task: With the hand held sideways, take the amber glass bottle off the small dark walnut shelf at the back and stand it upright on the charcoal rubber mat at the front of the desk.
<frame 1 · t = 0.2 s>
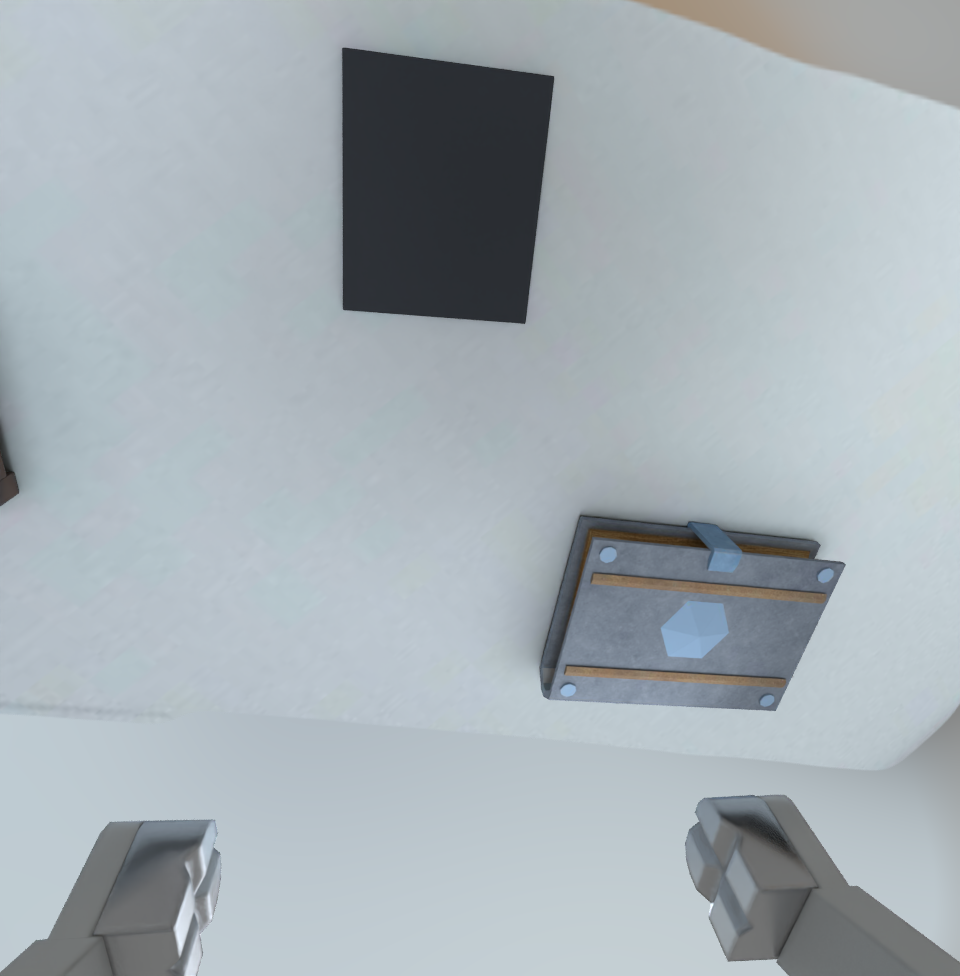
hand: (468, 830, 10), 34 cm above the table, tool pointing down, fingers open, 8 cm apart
mat: (442, 199, 37), on the table
book: (671, 604, 52), on the table
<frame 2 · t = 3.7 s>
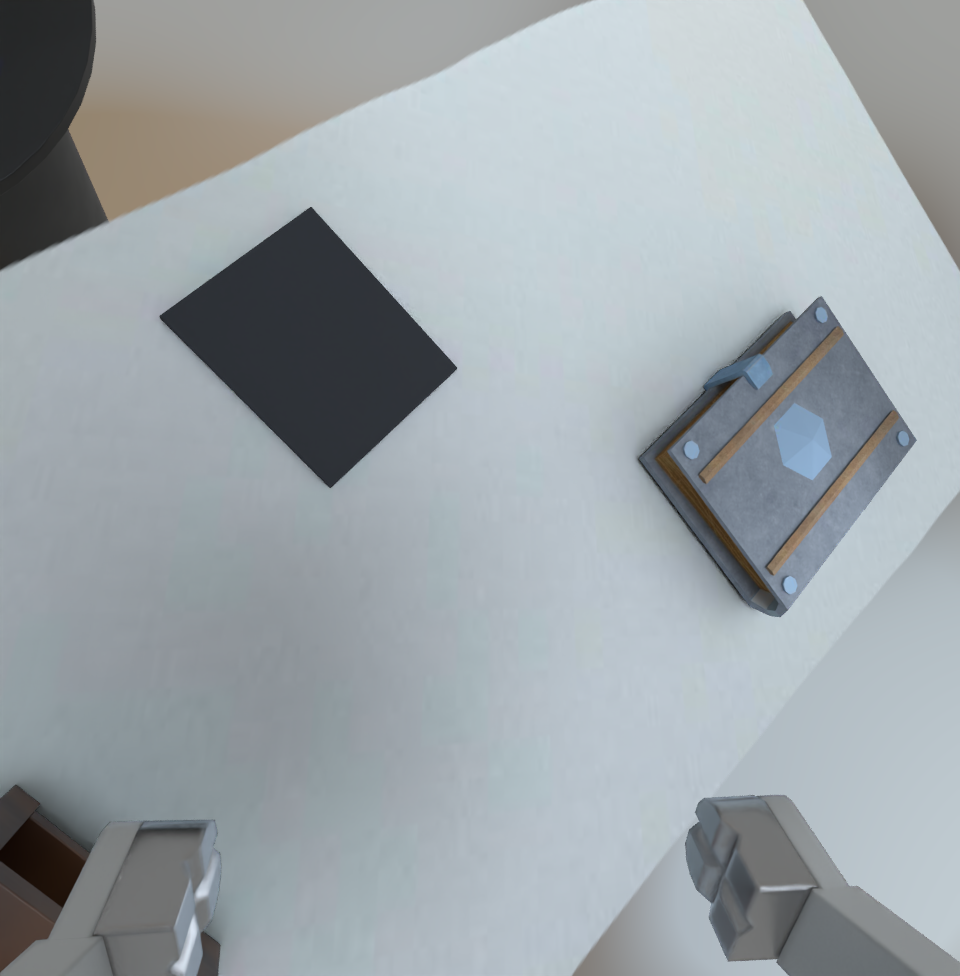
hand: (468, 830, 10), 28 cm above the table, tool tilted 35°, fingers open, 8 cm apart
mat: (320, 346, 38), on the table
shelf: (20, 975, 30), on the table
book: (763, 455, 51), on the table
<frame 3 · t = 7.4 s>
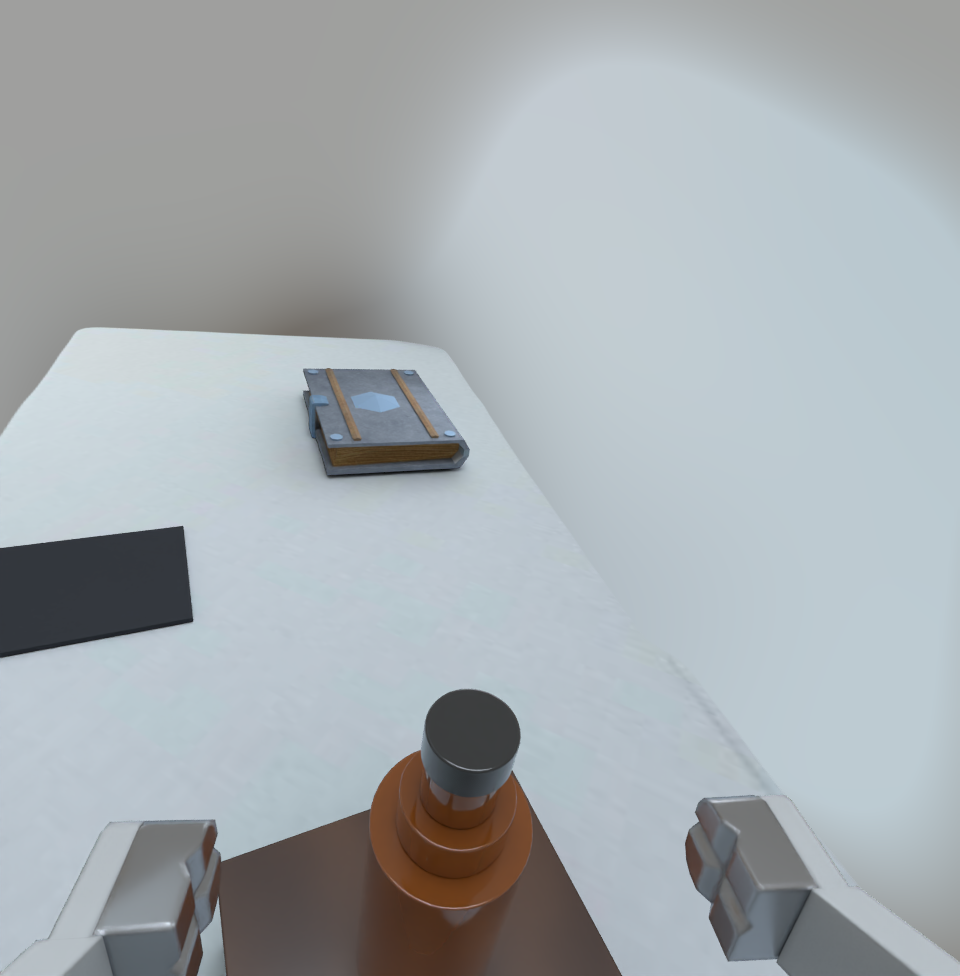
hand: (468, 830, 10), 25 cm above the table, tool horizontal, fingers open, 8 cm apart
mat: (87, 586, 46), on the table
bottle: (423, 945, 23), point 7 cm above the table, touching shelf
book: (377, 433, 75), on the table
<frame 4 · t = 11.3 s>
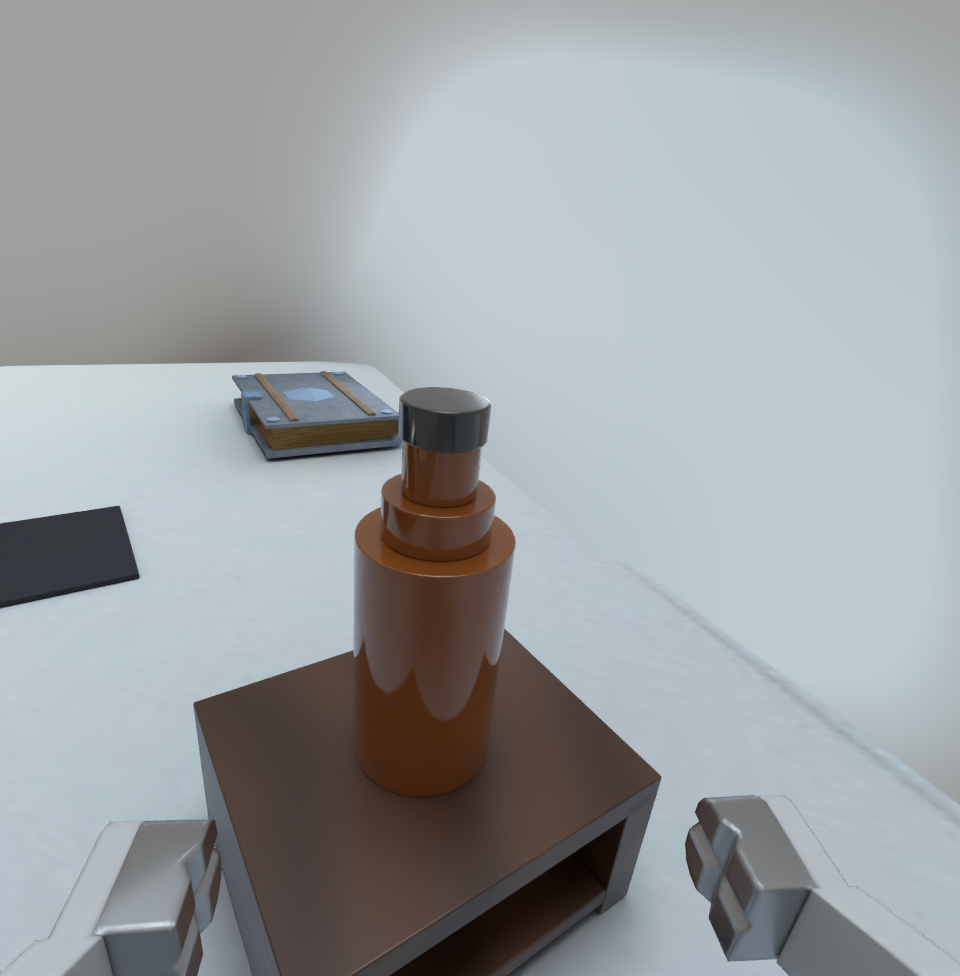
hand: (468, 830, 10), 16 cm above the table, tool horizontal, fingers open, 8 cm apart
mat: (18, 560, 43), on the table
shelf: (413, 857, 26), on the table
bottle: (421, 738, 23), point 7 cm above the table, touching shelf
book: (314, 427, 76), on the table
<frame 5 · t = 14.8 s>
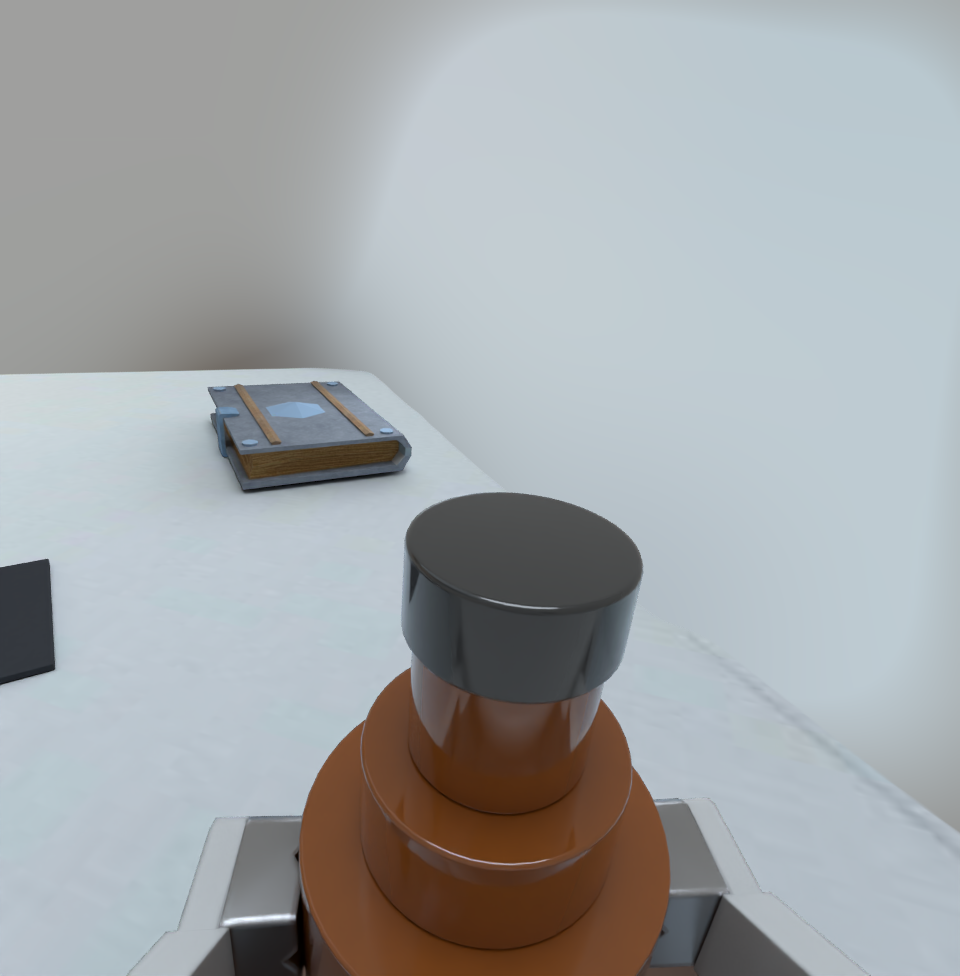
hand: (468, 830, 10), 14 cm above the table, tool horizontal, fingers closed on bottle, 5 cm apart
book: (302, 447, 65), on the table
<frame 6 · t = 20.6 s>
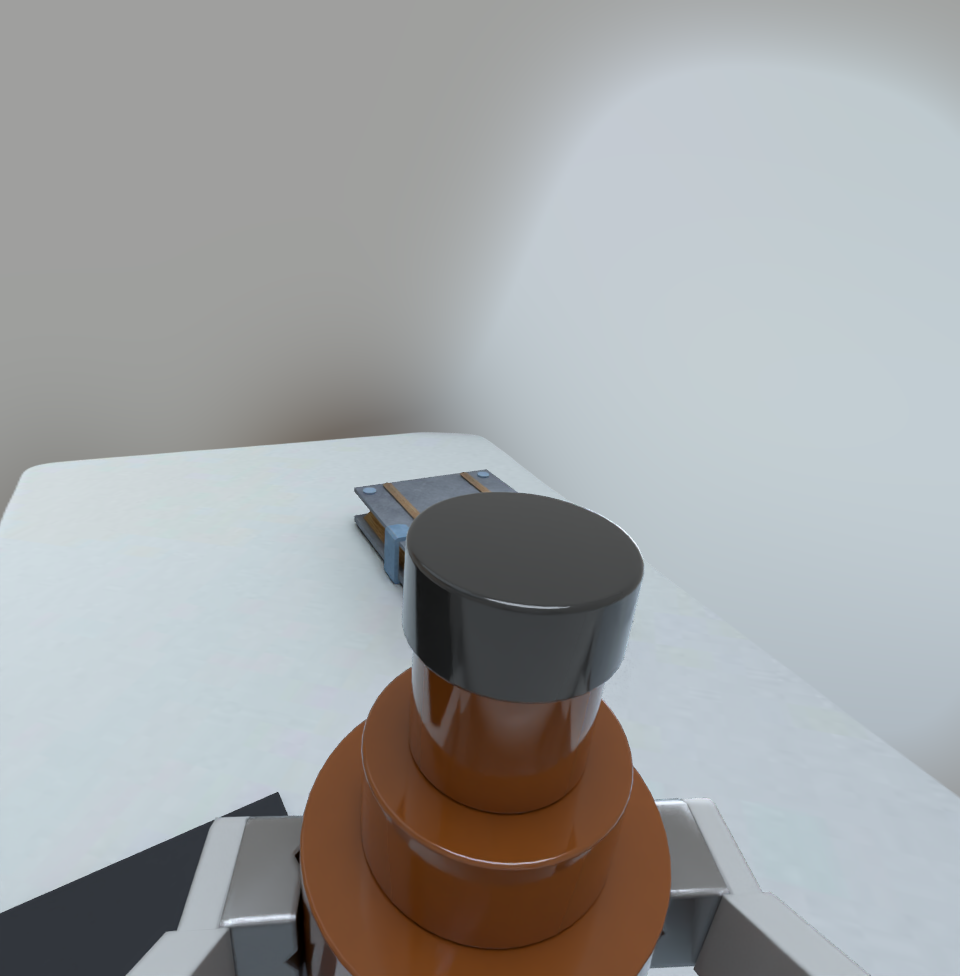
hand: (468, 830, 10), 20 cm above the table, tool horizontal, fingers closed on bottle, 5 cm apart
book: (470, 561, 56), on the table
when the fingers open (8 cm above the table, at t = 26.6 s): bottle stays where it is, resting on mat.
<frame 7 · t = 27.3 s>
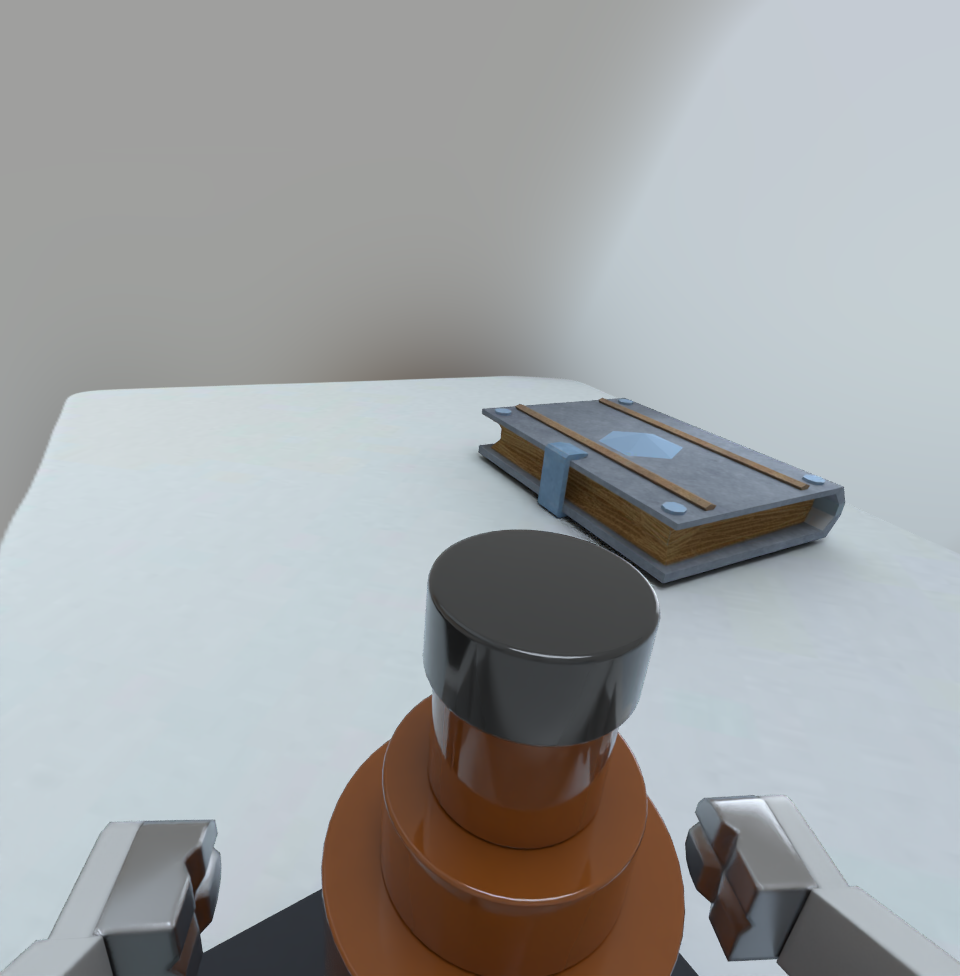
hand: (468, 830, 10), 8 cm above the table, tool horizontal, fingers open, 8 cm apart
book: (635, 497, 45), on the table
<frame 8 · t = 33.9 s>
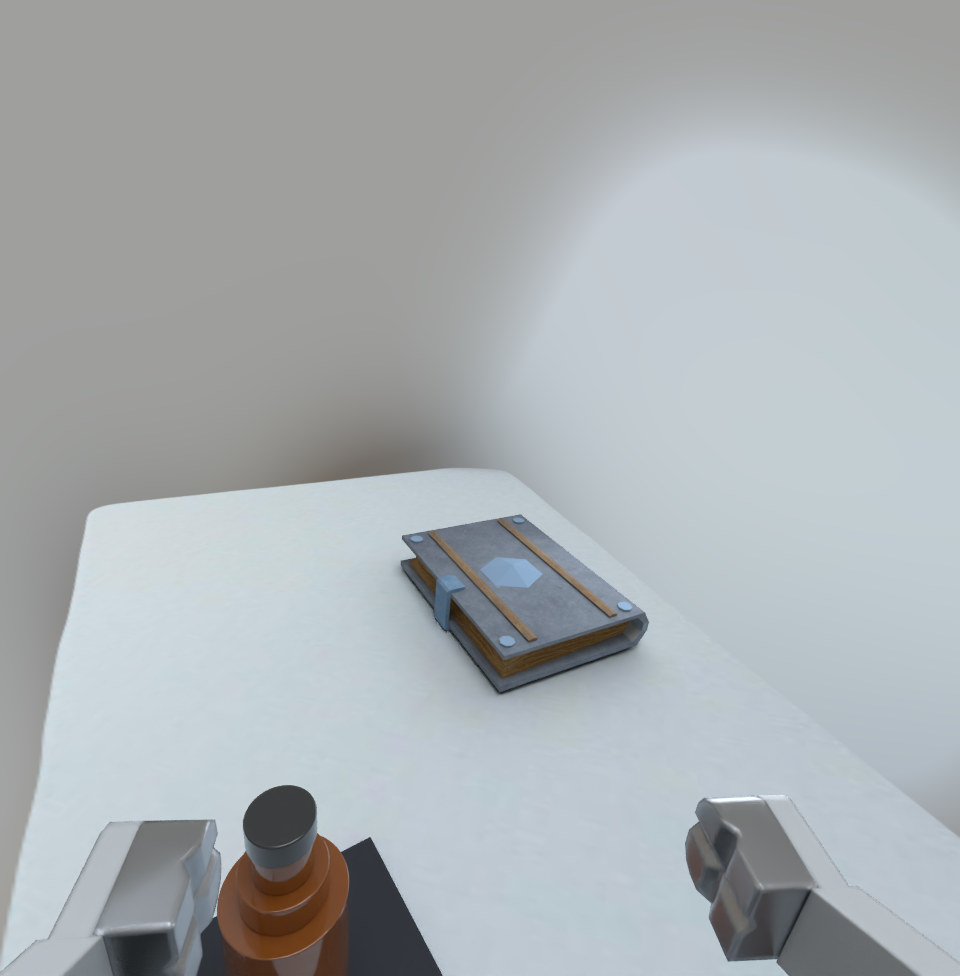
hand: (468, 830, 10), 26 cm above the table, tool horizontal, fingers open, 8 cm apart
book: (511, 606, 61), on the table
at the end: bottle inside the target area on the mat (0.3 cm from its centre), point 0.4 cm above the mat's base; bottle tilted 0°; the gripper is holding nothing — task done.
